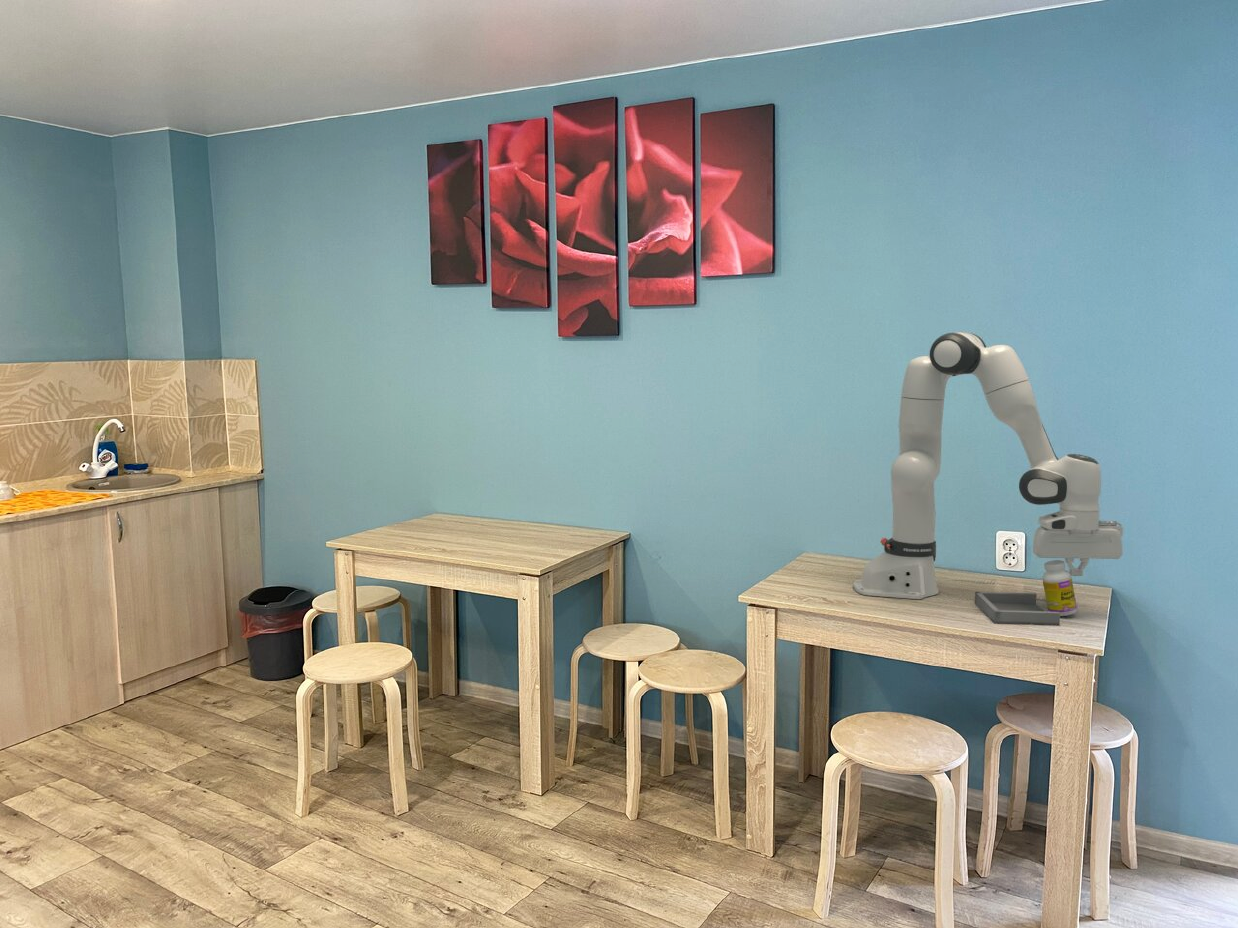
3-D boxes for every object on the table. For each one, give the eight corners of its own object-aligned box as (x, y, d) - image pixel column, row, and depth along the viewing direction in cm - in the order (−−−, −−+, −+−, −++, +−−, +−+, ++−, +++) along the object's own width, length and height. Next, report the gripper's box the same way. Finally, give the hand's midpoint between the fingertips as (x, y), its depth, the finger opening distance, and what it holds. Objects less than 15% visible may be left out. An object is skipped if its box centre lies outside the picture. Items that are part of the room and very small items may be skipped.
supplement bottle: (1064, 618, 227) (1055, 568, 226) (1042, 614, 234) (1033, 565, 232) (1083, 610, 230) (1074, 560, 229) (1061, 605, 236) (1052, 557, 235)
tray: (994, 623, 225) (995, 611, 225) (974, 602, 243) (975, 591, 242) (1059, 625, 223) (1060, 613, 223) (1034, 604, 241) (1035, 593, 241)
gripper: (1117, 518, 231) (1114, 573, 232) (1031, 517, 233) (1029, 571, 234) (1128, 523, 224) (1125, 579, 226) (1040, 522, 227) (1037, 577, 228)
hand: (1075, 575), depth 230 cm, fingers closed
